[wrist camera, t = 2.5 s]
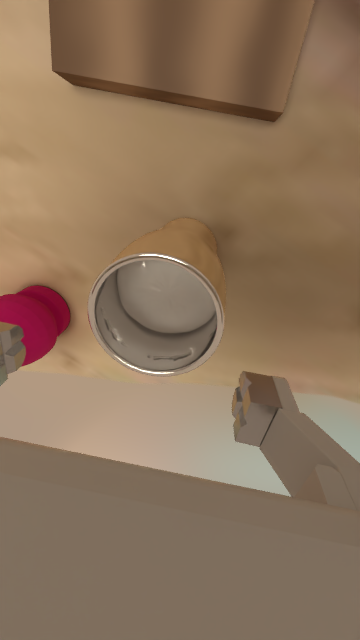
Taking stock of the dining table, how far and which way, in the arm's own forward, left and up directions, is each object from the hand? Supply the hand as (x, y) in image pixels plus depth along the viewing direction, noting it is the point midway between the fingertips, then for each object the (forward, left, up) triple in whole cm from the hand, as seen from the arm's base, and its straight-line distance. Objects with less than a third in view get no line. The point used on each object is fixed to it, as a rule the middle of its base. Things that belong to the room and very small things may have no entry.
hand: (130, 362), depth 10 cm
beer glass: (0, 0, -18) cm, 18 cm away
